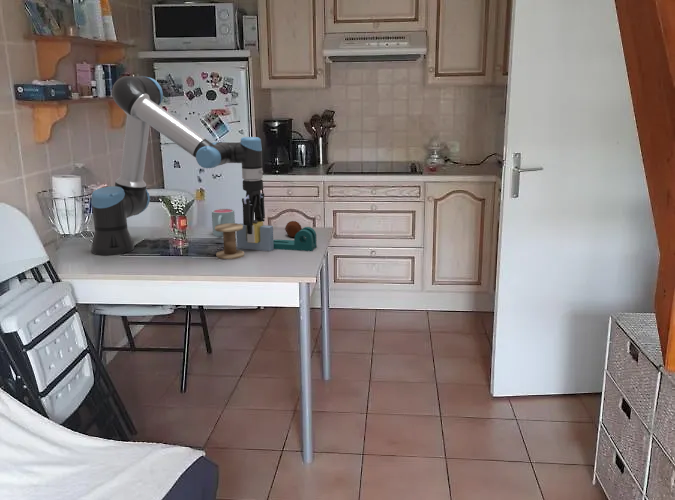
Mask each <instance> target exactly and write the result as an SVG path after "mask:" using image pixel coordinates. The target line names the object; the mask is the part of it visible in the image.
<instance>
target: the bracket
mask: <svg viewBox="0 0 675 500" xmlns="http://www.w3.org/2000/svg"><path fill="white" fill-rule="evenodd" d="M293 238H294V240H293V239H273V241H274V249H273V250H285V251H287V250H288V251H304V252H313V251H314V250H315V249H316V248H317V233H316V231H315V229H314V228H313V227H311V226H304V227H302V229H301V230H300V231H299V232H297V233H296V235H295V237H293Z"/></svg>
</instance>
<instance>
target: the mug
mask: <svg viewBox="0 0 675 500" xmlns="http://www.w3.org/2000/svg"><path fill="white" fill-rule="evenodd" d="M211 221H212V222H211V223H212V236H214V237H217V238H218V237H220V238H221V237H222V238H223V232H219V231H216V230H215V226H216V225H219V224H226V223H236V221H235V209H233V208H217V209H211Z"/></svg>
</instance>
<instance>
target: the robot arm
mask: <svg viewBox="0 0 675 500" xmlns="http://www.w3.org/2000/svg"><path fill="white" fill-rule="evenodd" d="M162 88H163V87H162V86H161V85H160V84H159V82H158V81H157V80H156V79H155V78H152V77H150V76H149V77H148V76H144V75H139V76H138V75H137V76H136V75H135V76H132V75H131V76H130V75H127V76H126V75H125V76H122V77H119V78H118V79H117V80H116V81H115V82H114V83H113V86H112V89H111V96H112V99H113V101H114V103H115V104H116V105H117V106H118V107H119V109H121V110H122V111H123V112H124V114H126V121H125V122H126V123H125V131H124V139H123V149H122V155H121V156H122V157H121V168H120V173H119V175H120V176H119V177H118V178H117V179H115V184H114V185H113V186H106V187H101V188H97V189H95V190H94V191H93V192H92V194H91V198H90V199H91V202H90V203H91V208H92V217H93V225H94V234H93V238H92V244H91V253H92V254H95V255H99V256H113V255H120V254H121V255H122V254H125V253H126V254H127V253H129V252H132V251H133V250H134V249H135V245H134V244H135V243H134V241H133V240H132V236H131V235H130V232H129V229H128V220H127V218H130V217H134V216H137V215H139V214H141V213H143V212H145V210H147V208H148V206H149V204H150V200H151V199H150V198H151V196H150V193H149V192H148V189H147V183H146V181H145V180H144V176H145V175H144V174H145V168H146V161H147V151H148V144H149V143H148V142H149V135H150V127H151V128H153V129H154V130H156V131H157V132H158V133H160V134H162V135H163V136H164V137H166V138H167V139H169V140H170V141H171V142H172V143H174V144H176V145H177V146H178V147H179V148H181V149H182V150H183V151H185V152H186V153H188V154H189V155H191V156H192V157H194V158H195V160H196V162H197V164H198V165H199V166H200V167H201V168H203V169H213V168H216V167H219V166H223V165H225V164H241V177H242V179H243V180H242V190H243V191H245V192H246V194H245V197H244V198H243V197H242V198H241V202H242V220H243V221H242V222H243V223H242V224H244V225H247V239H248V242H253V243H254V242H255V232H254V225H253V220H254V219H255V220H257V221H258V222H263V223H265V221H266V220H265V218H266V217H265V216H266V213H265V193H262V192H261V191H262V190H263V189H264V180H263V179H264V176H263V173H264V171H263V149H262V139H261V138H260V137H258V136H243V137H241V138H240V142H225V141H223V142H222V141H218V142H216V141H215V142H210V141H209V139H207V138H205V137H203V135H201V134H199V133H198V132H196V131H195V130H194V129H193V128H191V127H189V126H188V124H187V125H186V124H185V122H182V121H181V119H178V118H177V117H176V116H174V115H173V114H171V113H170V112H168V111H167V110H166V109H164V108H162V107H161V106H160V105H161V104H162V102H163V99H164V98H163V97H164V92H163V89H162Z"/></svg>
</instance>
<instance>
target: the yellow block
mask: <svg viewBox="0 0 675 500" xmlns="http://www.w3.org/2000/svg"><path fill="white" fill-rule="evenodd" d="M253 225H254V232H255V242H254V243H258V242H260V227H261V226H263V225H264V222H263V221H262V222H258V221H257V220H256V219H253ZM247 240H248V239H247ZM250 243H253V242H250Z"/></svg>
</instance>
